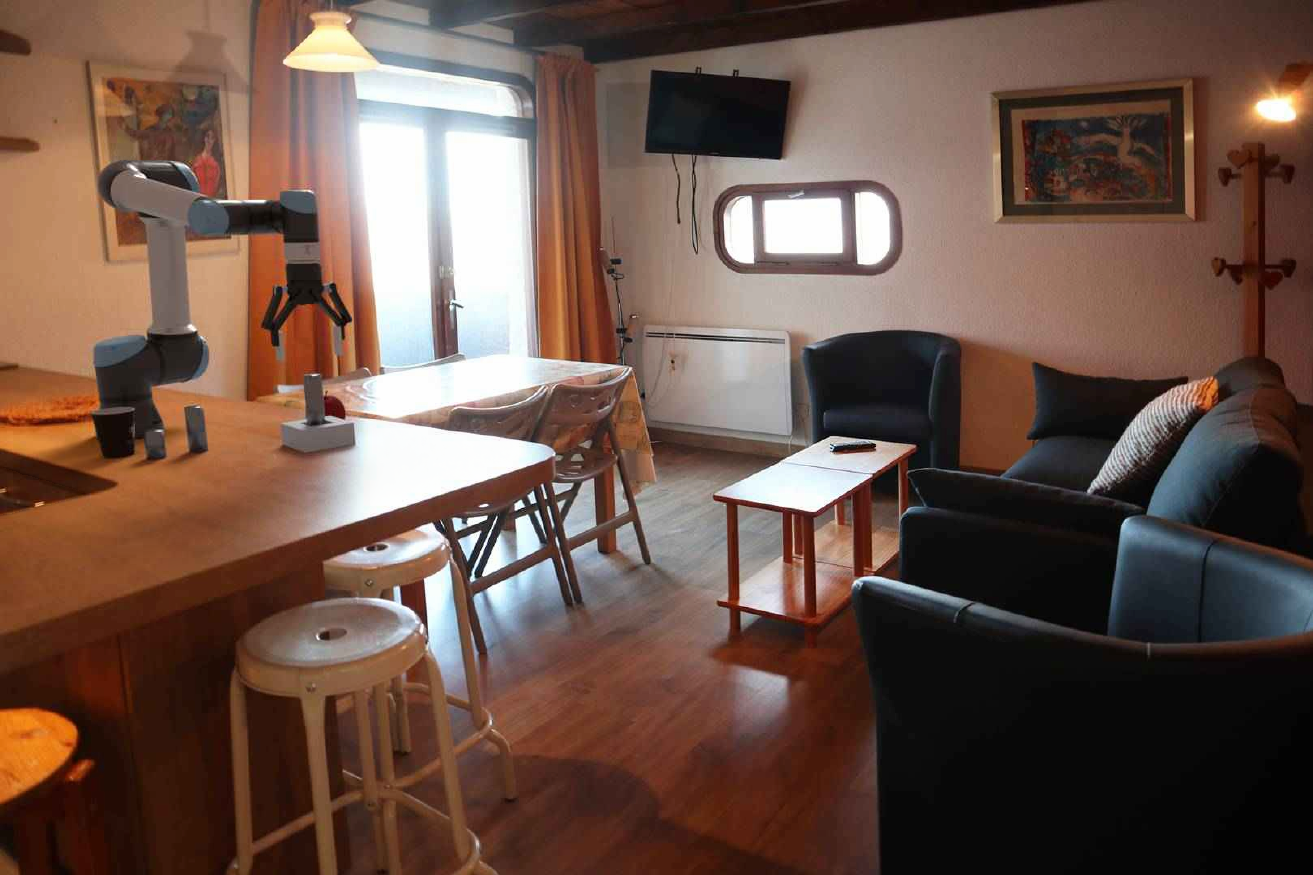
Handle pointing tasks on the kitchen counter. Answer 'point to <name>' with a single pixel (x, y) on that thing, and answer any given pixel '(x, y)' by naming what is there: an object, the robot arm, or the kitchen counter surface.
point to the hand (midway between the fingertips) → (310, 358)
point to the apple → (333, 407)
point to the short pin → (155, 444)
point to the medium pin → (196, 429)
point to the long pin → (314, 399)
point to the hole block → (318, 434)
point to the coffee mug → (115, 431)
